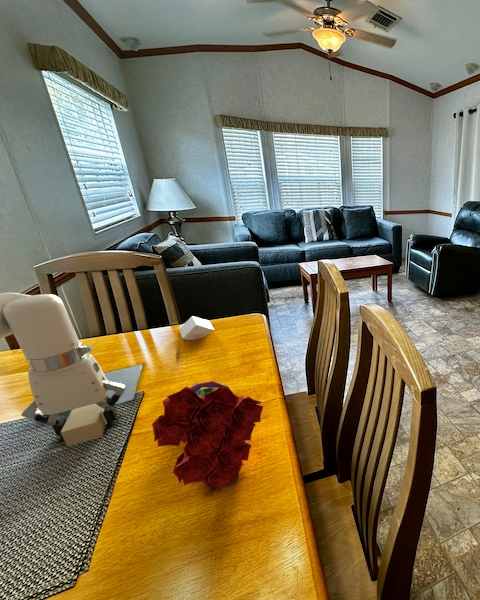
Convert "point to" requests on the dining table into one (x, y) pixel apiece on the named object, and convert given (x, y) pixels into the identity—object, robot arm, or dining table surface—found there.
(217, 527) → the dining table surface
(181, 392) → the bouquet
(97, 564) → the dining table surface
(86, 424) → the loose pad
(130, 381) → the board
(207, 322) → the wedge on round base
